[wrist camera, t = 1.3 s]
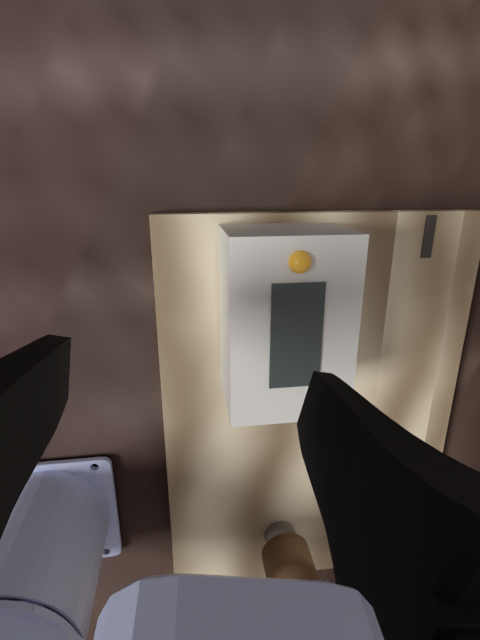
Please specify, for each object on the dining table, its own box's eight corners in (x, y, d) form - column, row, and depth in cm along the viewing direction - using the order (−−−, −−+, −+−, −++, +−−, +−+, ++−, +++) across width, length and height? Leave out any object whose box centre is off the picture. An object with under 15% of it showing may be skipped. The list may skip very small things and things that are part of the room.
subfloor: (175, 573, 31) (175, 590, 29) (150, 212, 22) (148, 214, 21) (414, 543, 33) (423, 557, 32) (474, 208, 25) (490, 210, 23)
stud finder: (220, 379, 24) (232, 433, 19) (218, 224, 22) (230, 238, 16) (318, 373, 25) (354, 423, 20) (329, 222, 22) (374, 235, 17)
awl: (257, 553, 30) (277, 650, 23) (257, 517, 29) (279, 610, 22) (300, 547, 30) (331, 642, 24) (302, 512, 29) (335, 602, 23)
